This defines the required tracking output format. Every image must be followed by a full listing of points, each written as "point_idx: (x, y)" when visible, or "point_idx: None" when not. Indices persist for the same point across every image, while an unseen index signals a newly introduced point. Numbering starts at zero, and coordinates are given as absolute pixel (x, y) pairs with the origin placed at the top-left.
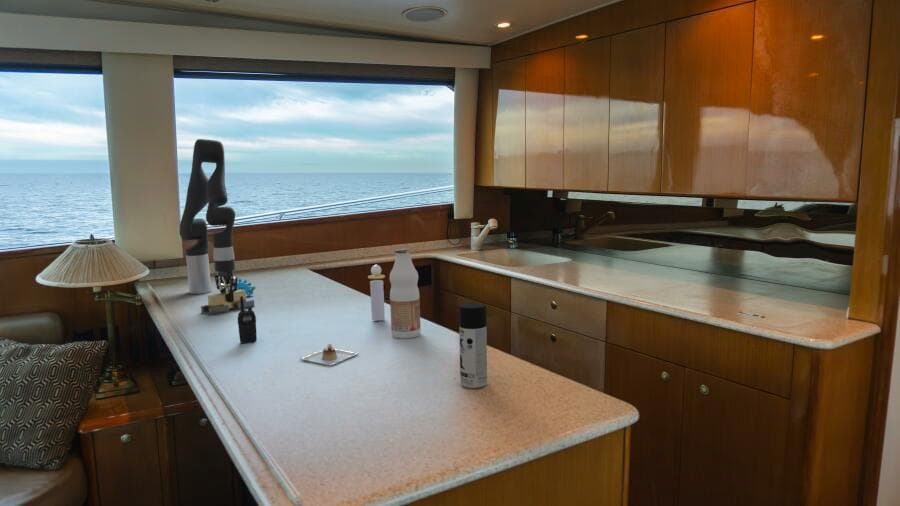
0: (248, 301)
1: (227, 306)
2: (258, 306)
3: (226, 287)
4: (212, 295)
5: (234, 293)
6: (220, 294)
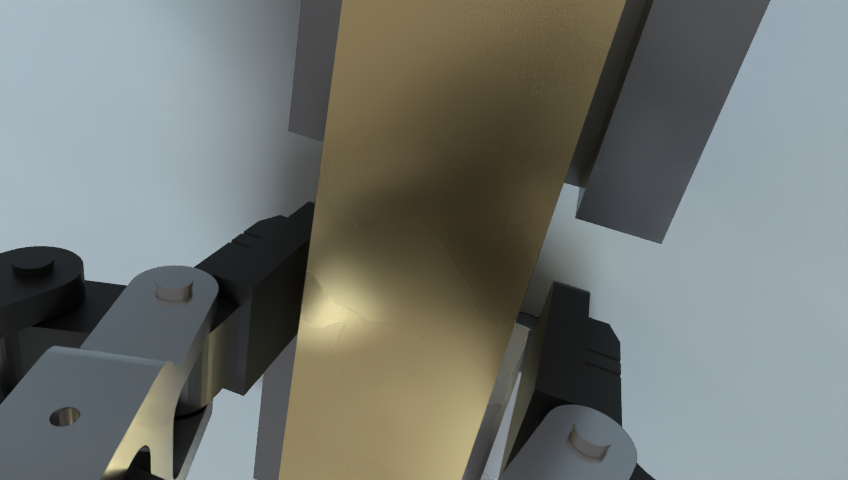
0: (260, 419)
1: (298, 112)
2: (256, 429)
3: (112, 356)
4: (499, 9)
5: (294, 431)
6: (385, 205)
